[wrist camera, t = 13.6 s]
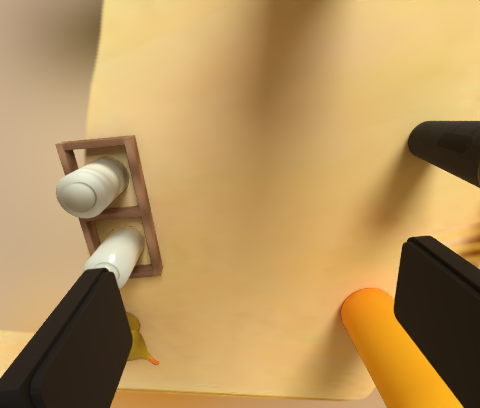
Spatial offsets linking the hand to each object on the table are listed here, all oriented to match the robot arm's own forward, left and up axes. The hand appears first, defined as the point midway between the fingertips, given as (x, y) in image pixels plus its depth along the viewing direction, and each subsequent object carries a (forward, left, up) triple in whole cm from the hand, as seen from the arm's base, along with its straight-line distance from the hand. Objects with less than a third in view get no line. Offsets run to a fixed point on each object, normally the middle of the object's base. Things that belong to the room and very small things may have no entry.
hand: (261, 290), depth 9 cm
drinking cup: (+2, +26, -31) cm, 40 cm away
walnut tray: (+8, -17, -30) cm, 36 cm away
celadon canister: (+13, -17, -30) cm, 37 cm away
